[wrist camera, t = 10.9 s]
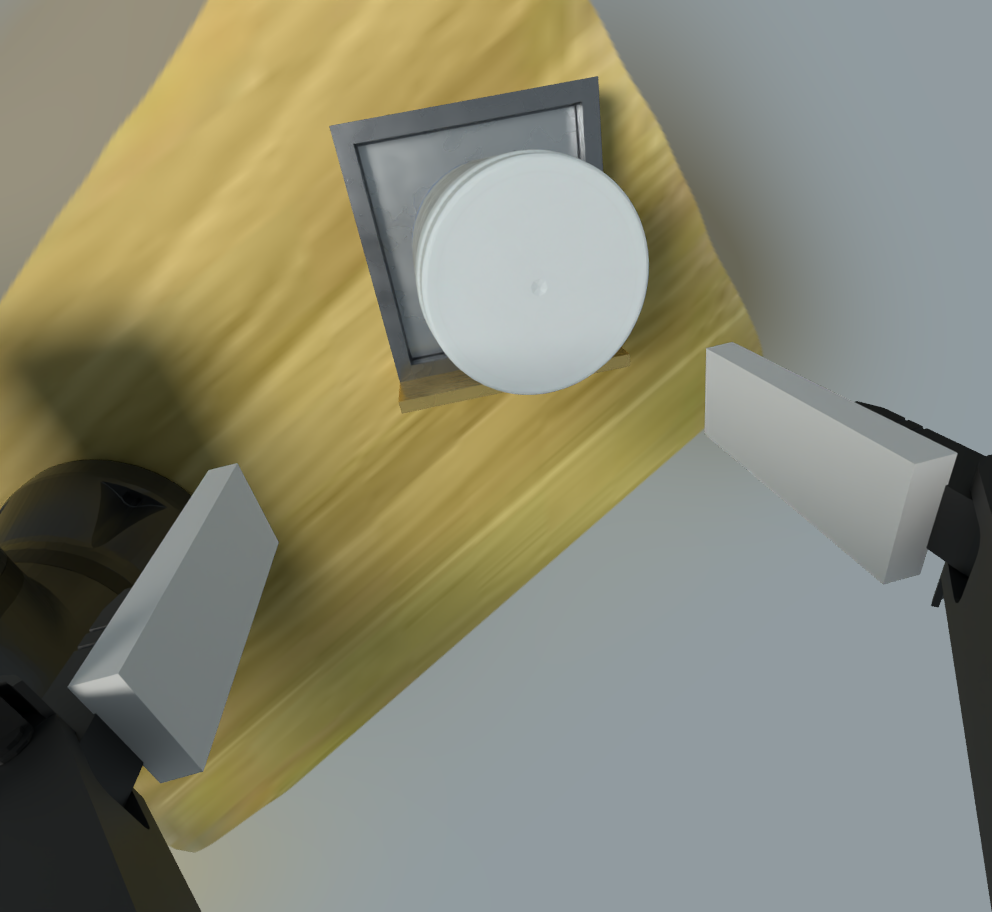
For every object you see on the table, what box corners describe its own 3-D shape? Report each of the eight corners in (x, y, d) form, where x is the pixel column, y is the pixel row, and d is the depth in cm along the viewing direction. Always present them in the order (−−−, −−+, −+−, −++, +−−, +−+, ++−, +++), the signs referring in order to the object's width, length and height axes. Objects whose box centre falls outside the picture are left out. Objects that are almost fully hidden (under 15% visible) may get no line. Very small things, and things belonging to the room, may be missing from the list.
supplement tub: (427, 328, 35) (436, 418, 22) (397, 170, 30) (384, 169, 17) (566, 305, 35) (651, 380, 23) (557, 147, 31) (658, 129, 18)
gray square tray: (404, 371, 39) (402, 413, 32) (340, 131, 32) (318, 119, 25) (592, 332, 40) (630, 365, 33) (575, 87, 32) (620, 64, 25)
